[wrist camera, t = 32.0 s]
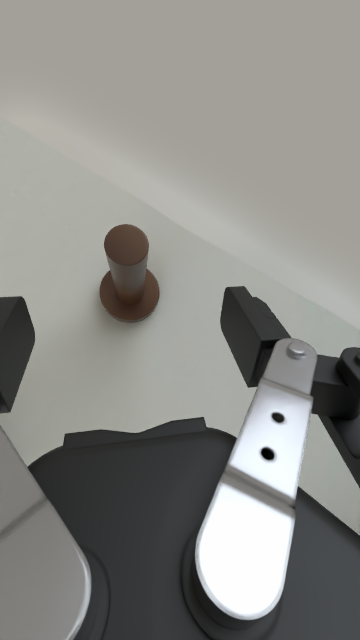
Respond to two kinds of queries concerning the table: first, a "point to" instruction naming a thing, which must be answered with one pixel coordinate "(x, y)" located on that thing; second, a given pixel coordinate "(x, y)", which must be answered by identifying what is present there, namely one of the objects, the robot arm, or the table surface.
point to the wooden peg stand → (128, 276)
